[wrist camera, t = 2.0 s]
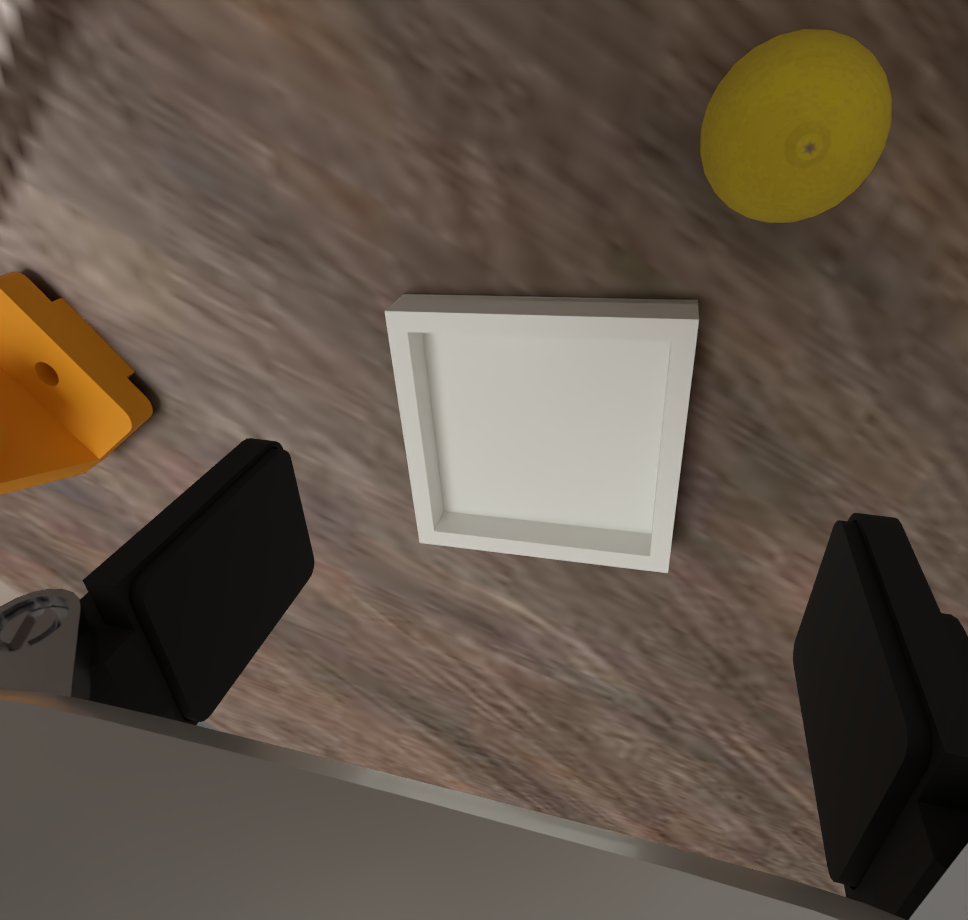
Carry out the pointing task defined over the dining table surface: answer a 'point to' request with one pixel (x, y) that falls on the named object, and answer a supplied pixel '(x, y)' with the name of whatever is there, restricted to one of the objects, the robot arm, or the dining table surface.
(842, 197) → the lemon
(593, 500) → the tray
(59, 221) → the dining table surface
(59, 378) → the bracket
